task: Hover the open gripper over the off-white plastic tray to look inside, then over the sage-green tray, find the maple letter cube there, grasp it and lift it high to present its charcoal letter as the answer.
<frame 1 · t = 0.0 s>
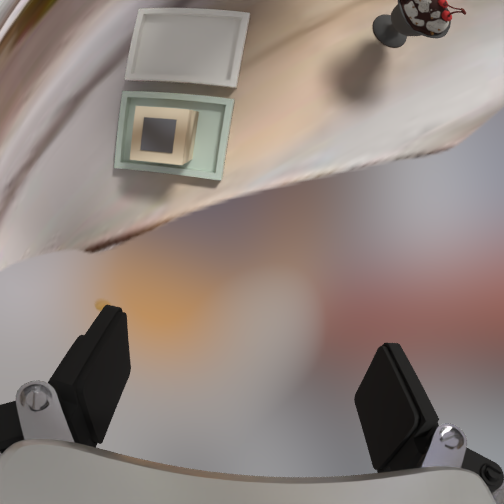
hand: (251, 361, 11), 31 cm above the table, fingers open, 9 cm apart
sundae: (389, 31, 31), on the table
tray sage: (172, 132, 37), on the table
tray white: (187, 46, 33), on the table
letter cube: (172, 132, 37), resting on tray sage
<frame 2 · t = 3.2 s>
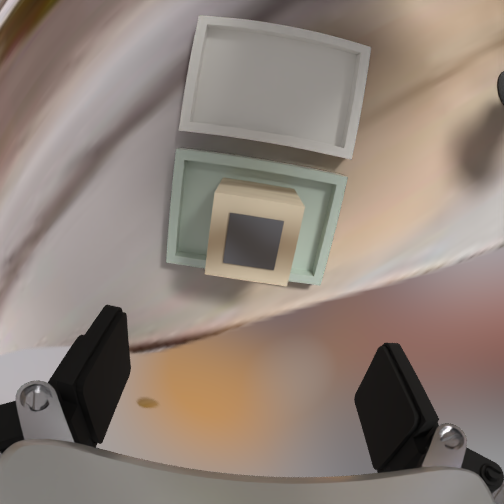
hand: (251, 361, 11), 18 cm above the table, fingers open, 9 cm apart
tray sage: (253, 215, 28), on the table
tray white: (275, 84, 23), on the table
letter cube: (253, 216, 27), resting on tray sage
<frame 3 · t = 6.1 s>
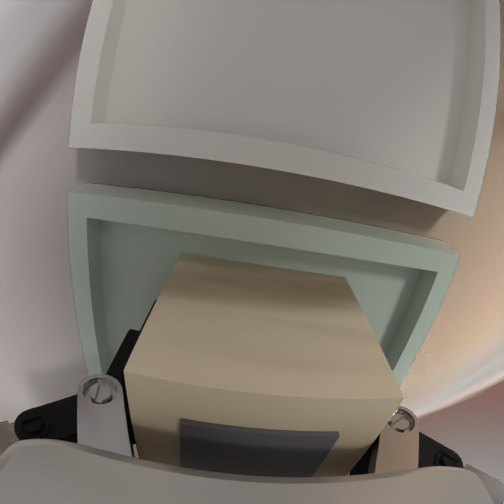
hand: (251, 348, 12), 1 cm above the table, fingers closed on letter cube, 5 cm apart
tray sage: (251, 326, 13), on the table
tray white: (307, 27, 9), on the table
letter cube: (251, 332, 13), resting on tray sage, touching gripper
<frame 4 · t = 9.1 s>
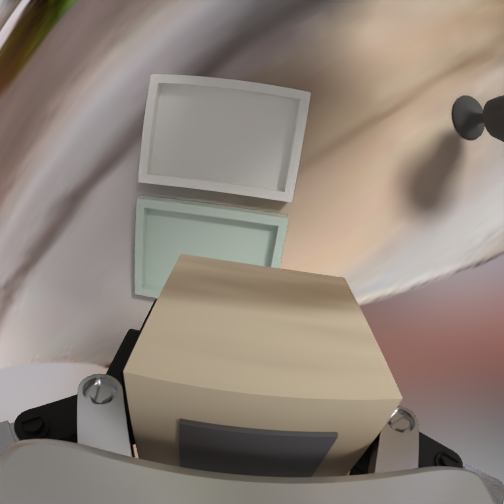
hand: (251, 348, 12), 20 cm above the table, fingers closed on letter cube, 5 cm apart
sundae: (468, 117, 26), on the table
tray sage: (207, 253, 31), on the table
tray white: (222, 134, 27), on the table
letter cube: (251, 333, 13), point 19 cm above the table, touching gripper
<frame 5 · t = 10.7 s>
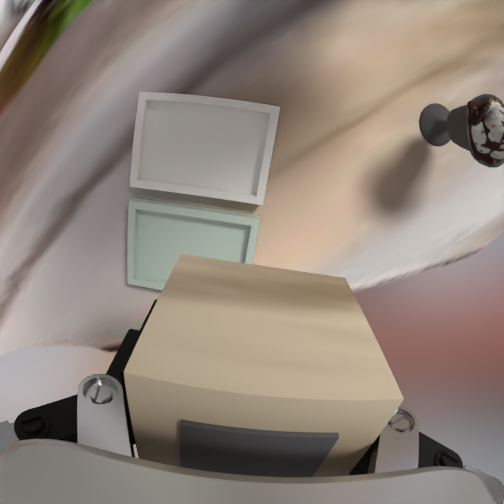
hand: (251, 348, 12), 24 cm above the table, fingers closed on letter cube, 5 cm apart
sundae: (436, 124, 30), on the table
tray sage: (190, 248, 35), on the table
tray white: (202, 145, 31), on the table
letter cube: (251, 333, 13), point 23 cm above the table, touching gripper
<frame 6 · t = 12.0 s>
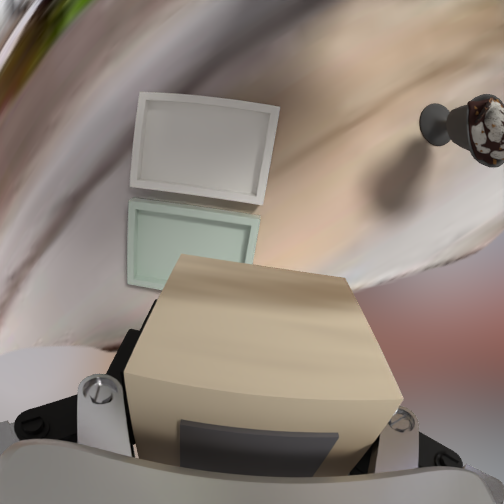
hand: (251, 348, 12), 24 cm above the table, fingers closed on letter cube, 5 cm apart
sundae: (436, 124, 30), on the table
tray sage: (190, 248, 35), on the table
tray white: (202, 145, 31), on the table
letter cube: (251, 333, 13), point 23 cm above the table, touching gripper
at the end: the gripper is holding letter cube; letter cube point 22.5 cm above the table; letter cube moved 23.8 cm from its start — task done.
